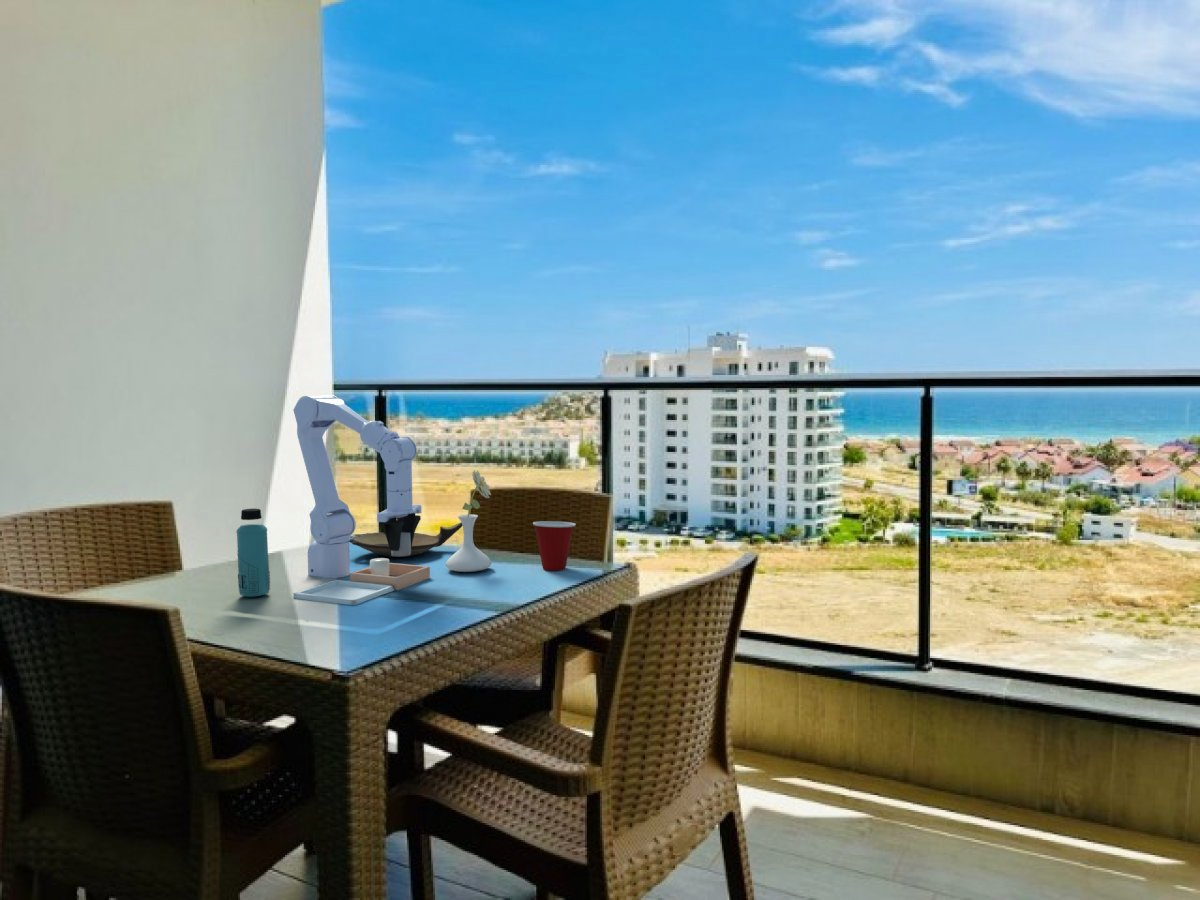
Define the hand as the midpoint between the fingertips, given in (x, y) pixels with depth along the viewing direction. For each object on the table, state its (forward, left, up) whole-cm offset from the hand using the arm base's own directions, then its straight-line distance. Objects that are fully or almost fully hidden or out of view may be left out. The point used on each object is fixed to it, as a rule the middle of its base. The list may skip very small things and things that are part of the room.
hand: (400, 548), depth 205 cm
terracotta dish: (-3, 0, -9) cm, 9 cm away
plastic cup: (+25, +30, -9) cm, 40 cm away
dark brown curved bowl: (-20, +31, -9) cm, 38 cm away
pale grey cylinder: (-6, 0, -8) cm, 10 cm away
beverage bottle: (-22, -23, -9) cm, 33 cm away
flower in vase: (+6, +21, -9) cm, 24 cm away
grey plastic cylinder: (0, 0, -1) cm, 1 cm away
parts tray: (-5, -14, -9) cm, 17 cm away
